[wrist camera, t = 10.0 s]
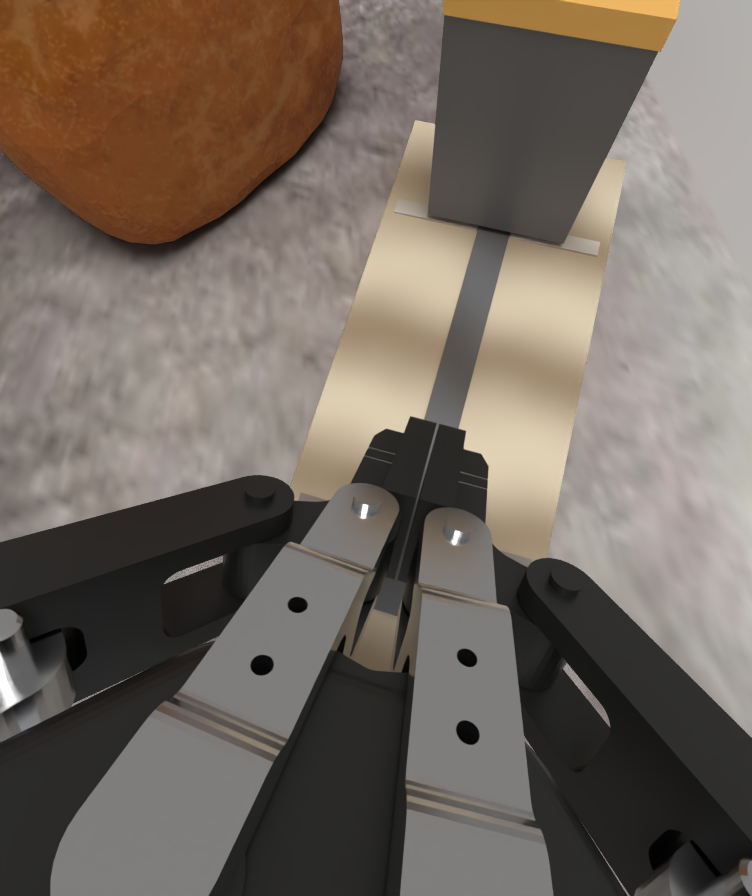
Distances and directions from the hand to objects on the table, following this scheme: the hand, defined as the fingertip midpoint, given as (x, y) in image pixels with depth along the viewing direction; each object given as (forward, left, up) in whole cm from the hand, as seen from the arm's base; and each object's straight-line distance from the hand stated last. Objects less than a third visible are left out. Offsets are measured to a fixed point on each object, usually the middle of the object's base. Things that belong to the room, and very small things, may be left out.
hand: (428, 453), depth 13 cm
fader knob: (-6, +13, -6) cm, 15 cm away
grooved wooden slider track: (-2, +5, -9) cm, 10 cm away
